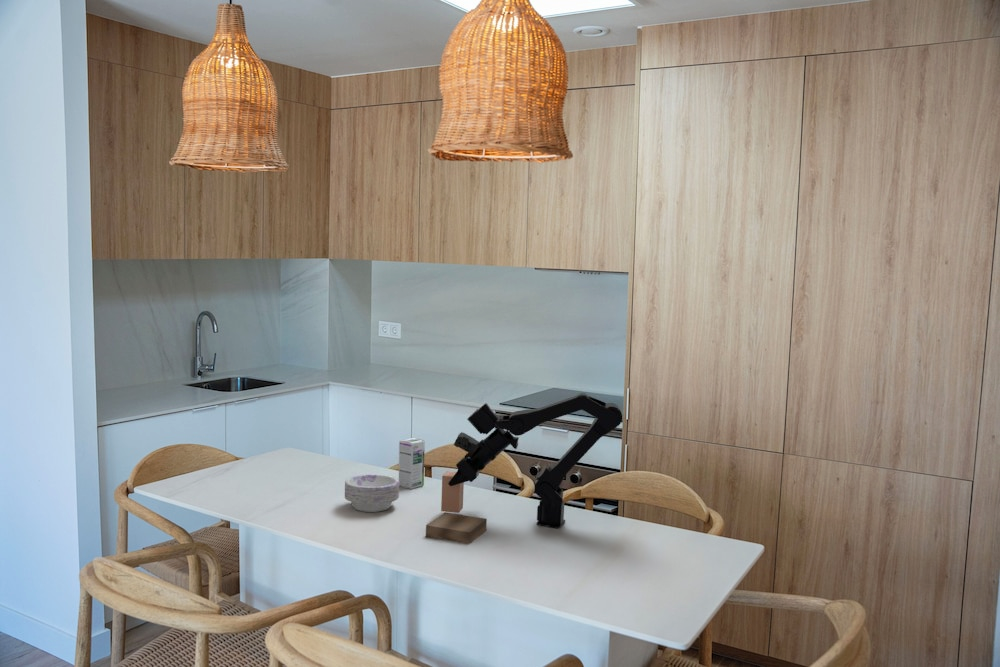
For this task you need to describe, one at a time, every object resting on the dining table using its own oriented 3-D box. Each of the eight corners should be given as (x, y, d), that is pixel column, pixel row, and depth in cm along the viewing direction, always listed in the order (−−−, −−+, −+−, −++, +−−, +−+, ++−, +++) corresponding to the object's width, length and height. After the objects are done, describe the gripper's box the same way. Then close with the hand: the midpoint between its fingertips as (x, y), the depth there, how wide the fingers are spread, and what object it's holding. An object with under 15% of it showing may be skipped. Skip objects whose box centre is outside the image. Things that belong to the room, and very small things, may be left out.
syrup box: (411, 489, 250) (412, 443, 248) (397, 485, 253) (398, 439, 252) (424, 485, 254) (425, 440, 253) (410, 482, 258) (411, 437, 256)
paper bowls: (371, 496, 241) (371, 470, 240) (409, 507, 232) (410, 479, 231) (332, 507, 228) (333, 480, 228) (371, 519, 220) (372, 491, 219)
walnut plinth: (486, 529, 215) (486, 518, 215) (469, 543, 204) (469, 532, 204) (444, 523, 219) (445, 512, 219) (425, 536, 208) (426, 525, 208)
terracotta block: (462, 507, 228) (464, 472, 227) (458, 512, 223) (460, 477, 222) (445, 506, 229) (446, 471, 228) (441, 511, 224) (442, 475, 223)
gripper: (479, 418, 232) (440, 453, 235) (465, 431, 214) (423, 468, 217) (505, 447, 232) (466, 482, 235) (493, 462, 213) (451, 500, 216)
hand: (451, 482), depth 226 cm, fingers closed on terracotta block, 5 cm apart
